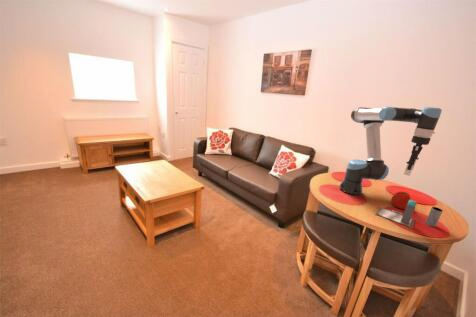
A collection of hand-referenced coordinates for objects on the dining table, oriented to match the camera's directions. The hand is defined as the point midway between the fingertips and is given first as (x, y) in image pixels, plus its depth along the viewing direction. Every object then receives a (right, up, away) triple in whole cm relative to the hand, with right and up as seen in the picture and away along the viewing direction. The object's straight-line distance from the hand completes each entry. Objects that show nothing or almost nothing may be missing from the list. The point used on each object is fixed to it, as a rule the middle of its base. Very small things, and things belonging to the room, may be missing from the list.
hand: (408, 172), depth 120 cm
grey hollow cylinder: (+12, -30, -1) cm, 33 cm away
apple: (+8, -24, +17) cm, 30 cm away
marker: (-4, -29, -2) cm, 29 cm away
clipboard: (-5, -27, +3) cm, 28 cm away
